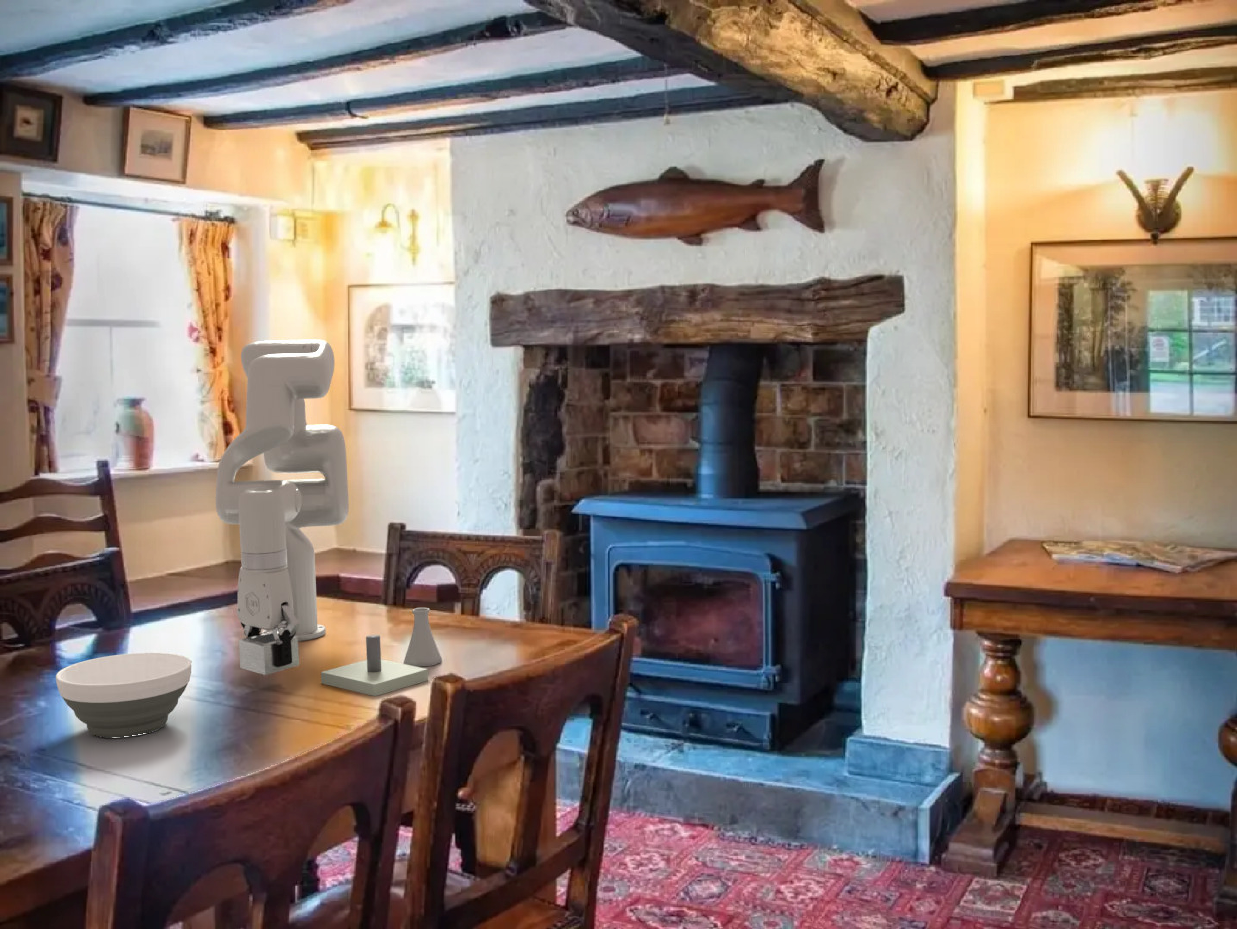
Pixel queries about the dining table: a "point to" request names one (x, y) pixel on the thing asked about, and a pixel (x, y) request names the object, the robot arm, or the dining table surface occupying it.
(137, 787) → the dining table surface
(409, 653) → the flask
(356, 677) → the keeper
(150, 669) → the bowl
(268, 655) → the white square ring
